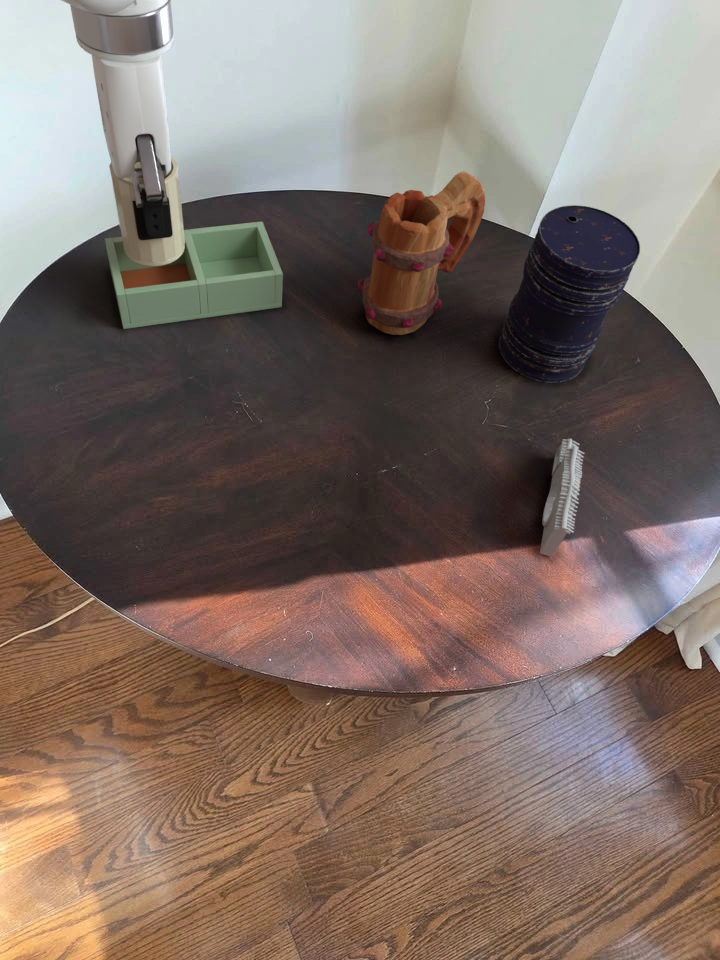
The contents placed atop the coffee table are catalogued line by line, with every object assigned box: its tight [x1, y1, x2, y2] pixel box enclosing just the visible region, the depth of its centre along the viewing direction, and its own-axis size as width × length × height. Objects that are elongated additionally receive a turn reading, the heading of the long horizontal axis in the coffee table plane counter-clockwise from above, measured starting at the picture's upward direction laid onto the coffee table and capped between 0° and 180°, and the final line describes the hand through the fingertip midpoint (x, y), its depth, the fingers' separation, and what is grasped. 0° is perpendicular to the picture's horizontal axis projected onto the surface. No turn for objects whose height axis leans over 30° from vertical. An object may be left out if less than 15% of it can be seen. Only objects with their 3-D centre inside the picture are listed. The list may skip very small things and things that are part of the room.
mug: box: [357, 171, 486, 336], centre depth 80 cm, size 15×8×15 cm, turn 131°
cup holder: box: [104, 221, 284, 330], centre depth 83 cm, size 17×9×5 cm, turn 108°
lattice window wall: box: [539, 437, 586, 558], centre depth 71 cm, size 12×2×6 cm, turn 164°
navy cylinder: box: [498, 204, 641, 384], centre depth 79 cm, size 10×10×15 cm
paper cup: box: [108, 155, 185, 266], centre depth 75 cm, size 6×6×9 cm
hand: (149, 213), depth 75 cm, fingers closed on paper cup, 6 cm apart
